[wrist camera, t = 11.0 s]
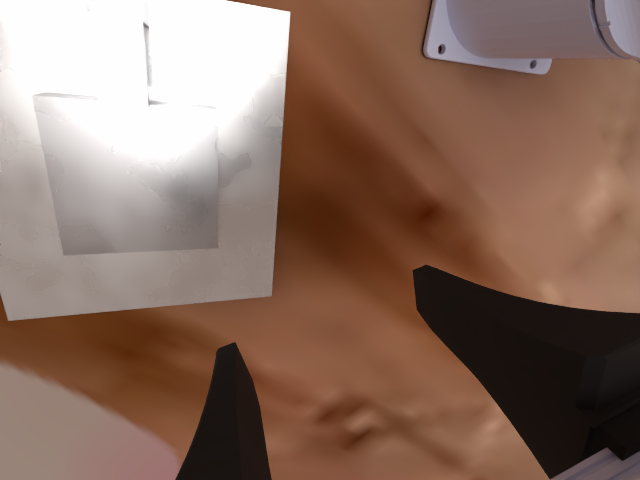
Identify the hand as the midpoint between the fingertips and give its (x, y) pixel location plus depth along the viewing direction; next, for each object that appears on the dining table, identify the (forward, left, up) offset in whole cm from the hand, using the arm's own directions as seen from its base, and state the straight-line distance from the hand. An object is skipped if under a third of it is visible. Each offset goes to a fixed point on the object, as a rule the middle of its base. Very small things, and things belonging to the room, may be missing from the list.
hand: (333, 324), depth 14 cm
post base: (+7, -3, -10) cm, 13 cm away
